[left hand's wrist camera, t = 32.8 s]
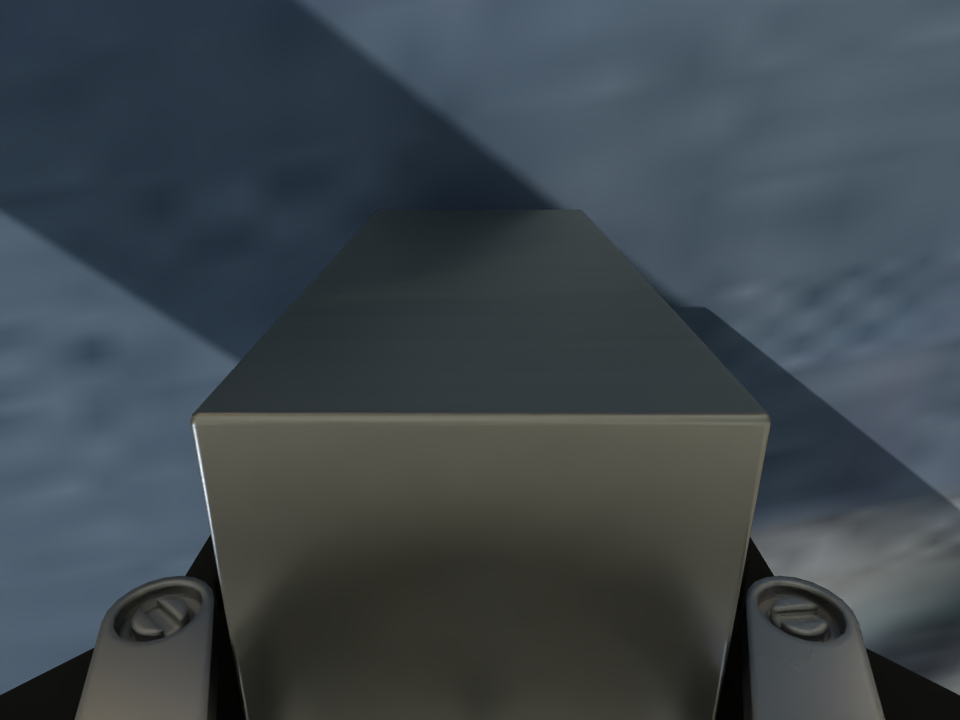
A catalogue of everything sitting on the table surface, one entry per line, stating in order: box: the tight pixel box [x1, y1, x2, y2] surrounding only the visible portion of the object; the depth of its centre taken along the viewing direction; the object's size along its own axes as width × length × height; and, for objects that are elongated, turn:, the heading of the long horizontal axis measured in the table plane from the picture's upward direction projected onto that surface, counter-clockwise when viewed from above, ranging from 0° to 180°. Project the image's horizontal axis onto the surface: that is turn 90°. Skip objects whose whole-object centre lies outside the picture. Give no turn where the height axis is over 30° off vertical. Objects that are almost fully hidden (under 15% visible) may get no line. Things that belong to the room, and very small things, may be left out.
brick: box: [191, 210, 771, 720], centre depth 13 cm, size 5×8×12 cm, turn 0°
